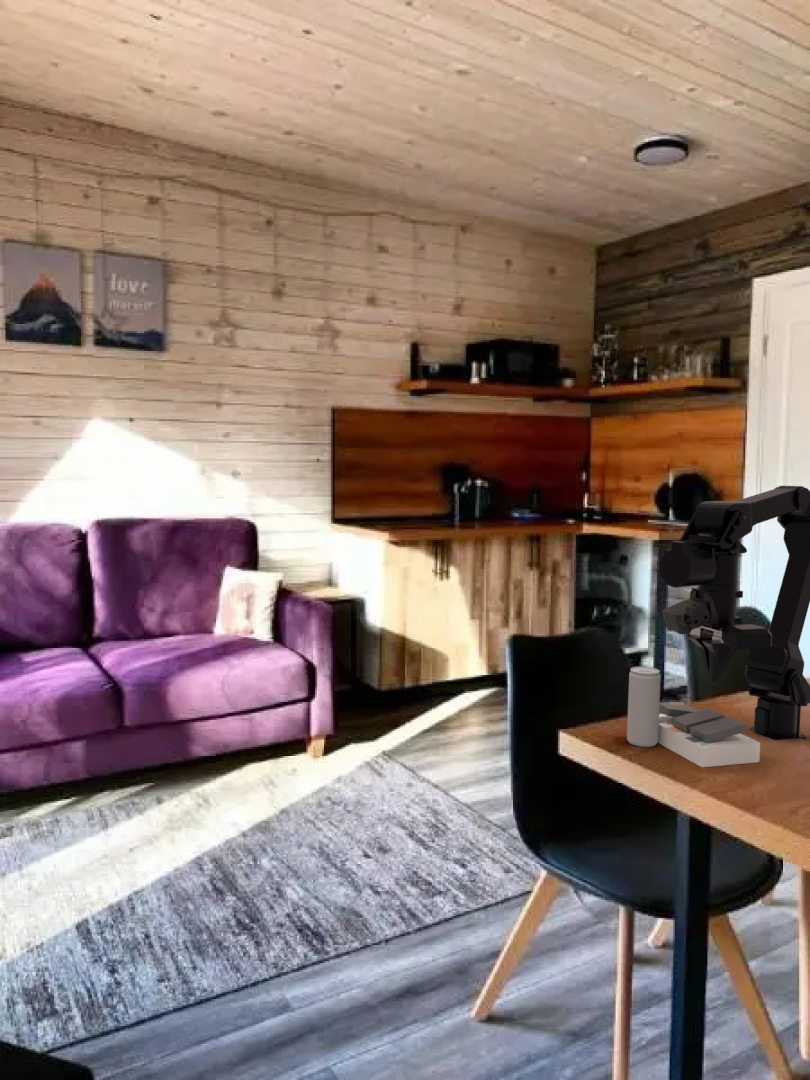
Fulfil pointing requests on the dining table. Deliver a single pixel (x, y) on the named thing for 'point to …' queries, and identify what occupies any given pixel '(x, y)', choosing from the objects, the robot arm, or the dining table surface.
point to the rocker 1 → (675, 709)
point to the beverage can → (643, 706)
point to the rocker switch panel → (707, 746)
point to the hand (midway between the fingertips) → (713, 682)
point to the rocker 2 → (696, 719)
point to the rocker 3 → (717, 729)
